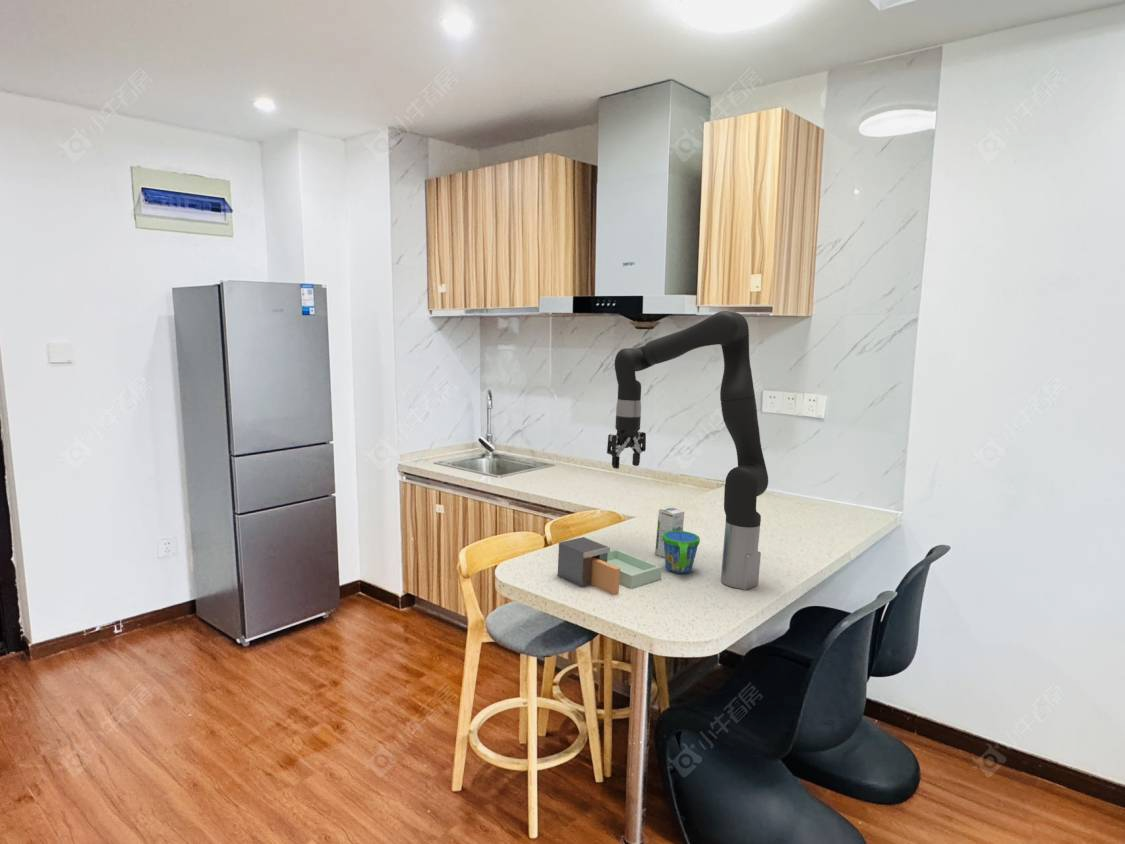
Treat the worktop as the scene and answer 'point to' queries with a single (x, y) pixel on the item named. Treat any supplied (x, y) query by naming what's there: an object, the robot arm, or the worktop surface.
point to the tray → (633, 569)
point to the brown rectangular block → (605, 576)
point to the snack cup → (680, 550)
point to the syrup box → (668, 526)
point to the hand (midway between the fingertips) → (625, 466)
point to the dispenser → (579, 559)
